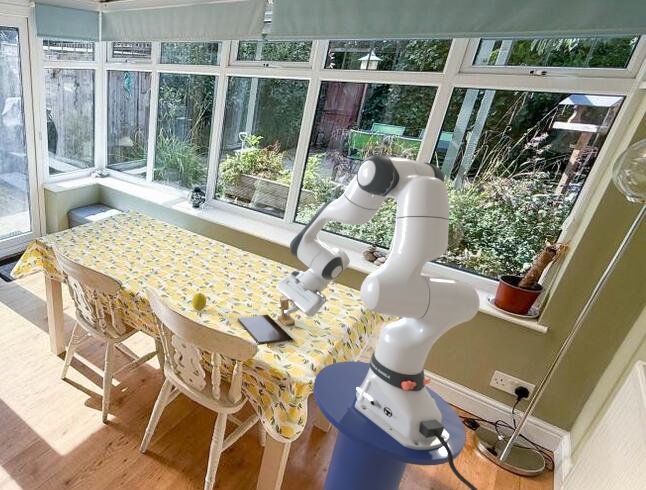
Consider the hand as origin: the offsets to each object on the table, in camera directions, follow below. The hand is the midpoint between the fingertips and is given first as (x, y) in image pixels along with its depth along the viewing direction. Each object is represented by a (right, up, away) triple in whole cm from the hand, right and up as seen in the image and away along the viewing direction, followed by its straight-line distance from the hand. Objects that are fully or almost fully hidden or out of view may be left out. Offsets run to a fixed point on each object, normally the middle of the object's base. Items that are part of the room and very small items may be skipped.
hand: (282, 310), depth 151 cm
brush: (+3, -5, +3) cm, 6 cm away
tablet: (-3, -7, +2) cm, 8 cm away
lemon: (-29, -2, +13) cm, 32 cm away
